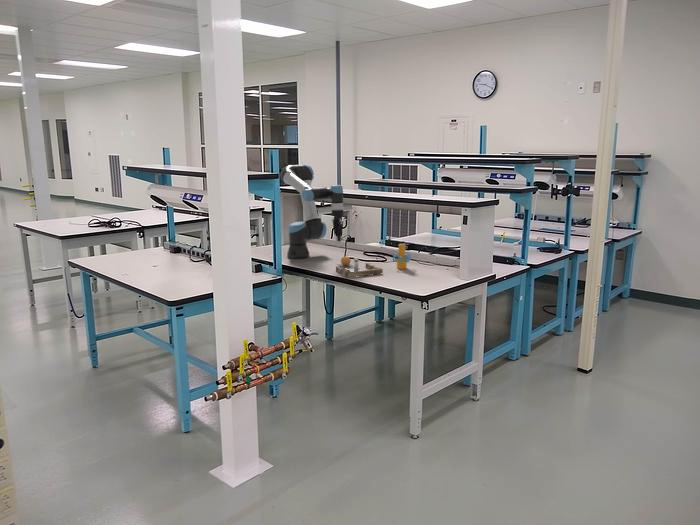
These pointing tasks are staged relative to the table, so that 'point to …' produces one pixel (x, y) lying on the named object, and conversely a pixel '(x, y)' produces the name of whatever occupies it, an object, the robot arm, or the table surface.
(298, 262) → the table surface
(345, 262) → the ball
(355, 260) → the pin
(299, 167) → the robot arm
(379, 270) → the pin pen
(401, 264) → the orange toy figure
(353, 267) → the lane tape
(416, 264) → the table surface
